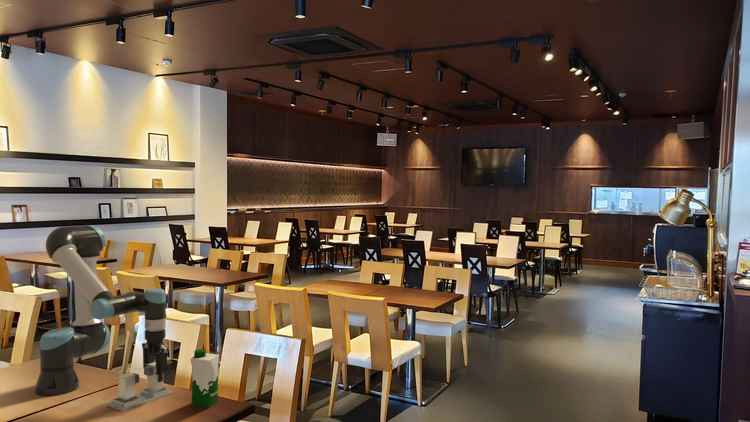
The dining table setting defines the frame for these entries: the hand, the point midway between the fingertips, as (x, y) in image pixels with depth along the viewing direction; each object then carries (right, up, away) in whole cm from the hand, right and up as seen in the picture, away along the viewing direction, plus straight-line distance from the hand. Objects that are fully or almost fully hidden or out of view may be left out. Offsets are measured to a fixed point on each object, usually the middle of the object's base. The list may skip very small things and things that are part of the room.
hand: (154, 388), depth 217 cm
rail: (-3, -3, -5) cm, 7 cm away
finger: (0, 0, 0) cm, 0 cm away
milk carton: (+22, -3, -8) cm, 24 cm away
